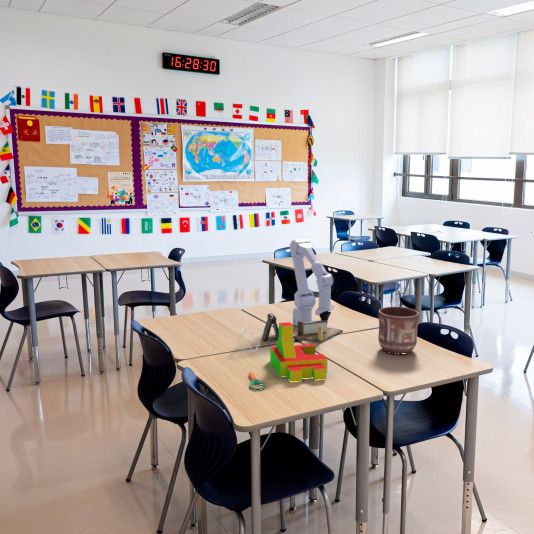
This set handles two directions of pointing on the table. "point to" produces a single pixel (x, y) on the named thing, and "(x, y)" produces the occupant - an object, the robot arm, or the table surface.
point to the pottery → (398, 329)
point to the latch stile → (320, 333)
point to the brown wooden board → (314, 336)
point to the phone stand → (268, 328)
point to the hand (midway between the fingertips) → (324, 326)
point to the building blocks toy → (296, 357)
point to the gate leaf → (314, 326)
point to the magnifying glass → (255, 382)
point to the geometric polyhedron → (247, 342)
